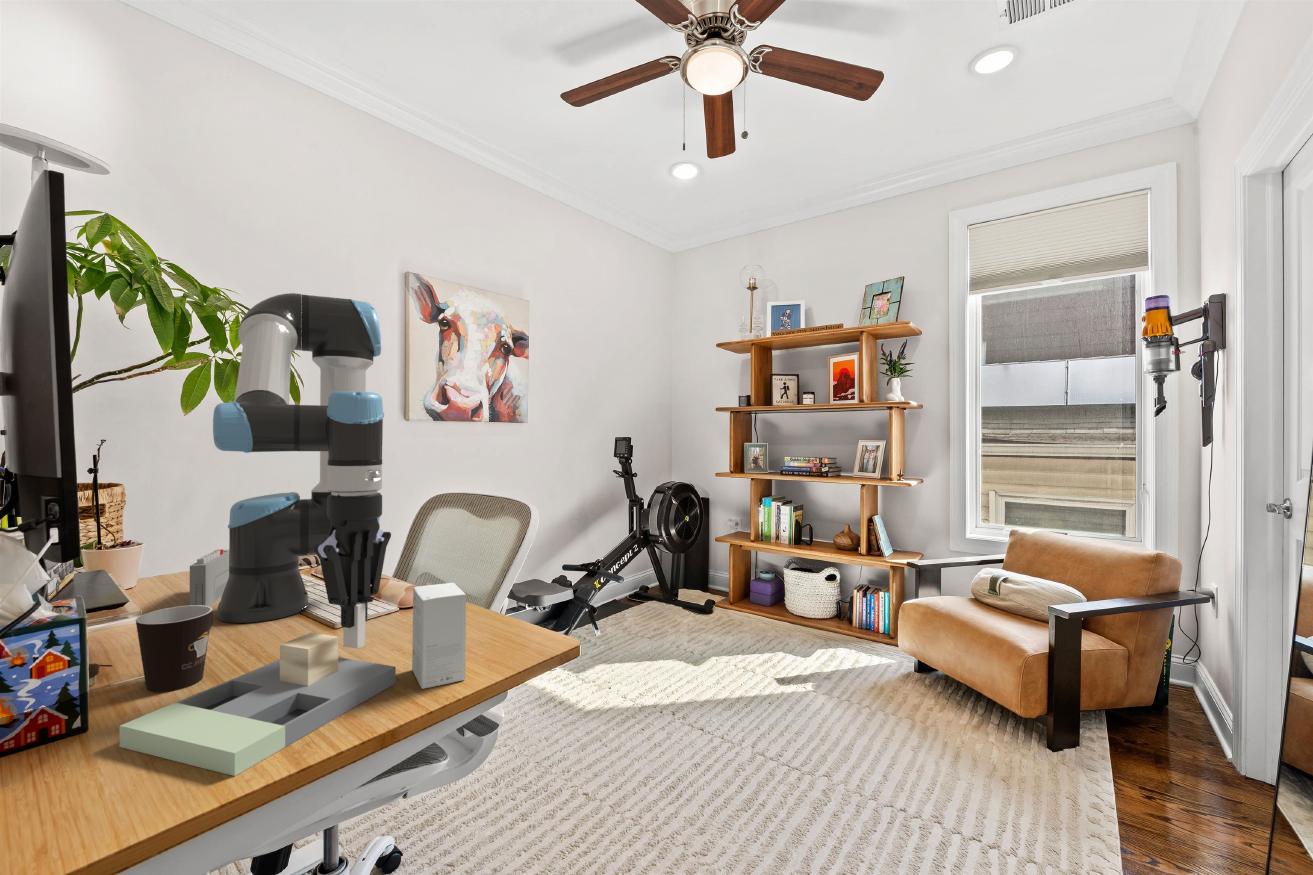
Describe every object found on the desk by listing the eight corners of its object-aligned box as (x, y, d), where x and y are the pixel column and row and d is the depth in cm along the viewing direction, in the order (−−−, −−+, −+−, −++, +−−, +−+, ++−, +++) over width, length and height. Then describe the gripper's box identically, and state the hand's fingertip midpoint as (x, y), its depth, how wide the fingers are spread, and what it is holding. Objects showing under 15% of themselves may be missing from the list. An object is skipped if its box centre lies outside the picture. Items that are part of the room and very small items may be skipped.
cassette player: (221, 589, 133) (221, 545, 132) (235, 588, 133) (235, 544, 133) (189, 610, 118) (189, 560, 117) (205, 609, 118) (205, 560, 118)
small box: (466, 680, 87) (467, 593, 87) (421, 690, 84) (421, 600, 84) (453, 661, 94) (454, 581, 94) (411, 669, 91) (412, 586, 90)
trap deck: (300, 666, 91) (300, 651, 91) (395, 683, 86) (395, 666, 86) (119, 746, 68) (119, 725, 68) (234, 776, 63) (234, 753, 63)
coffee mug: (160, 700, 79) (160, 627, 79) (121, 689, 82) (121, 619, 82) (246, 668, 90) (246, 603, 90) (208, 659, 93) (209, 597, 93)
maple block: (310, 666, 85) (311, 632, 85) (338, 671, 84) (338, 636, 84) (279, 680, 80) (279, 644, 80) (308, 685, 79) (308, 649, 79)
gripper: (340, 498, 82) (339, 665, 82) (405, 489, 94) (404, 634, 95) (298, 495, 84) (297, 658, 84) (367, 487, 97) (366, 629, 97)
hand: (354, 645), depth 90 cm, fingers closed
